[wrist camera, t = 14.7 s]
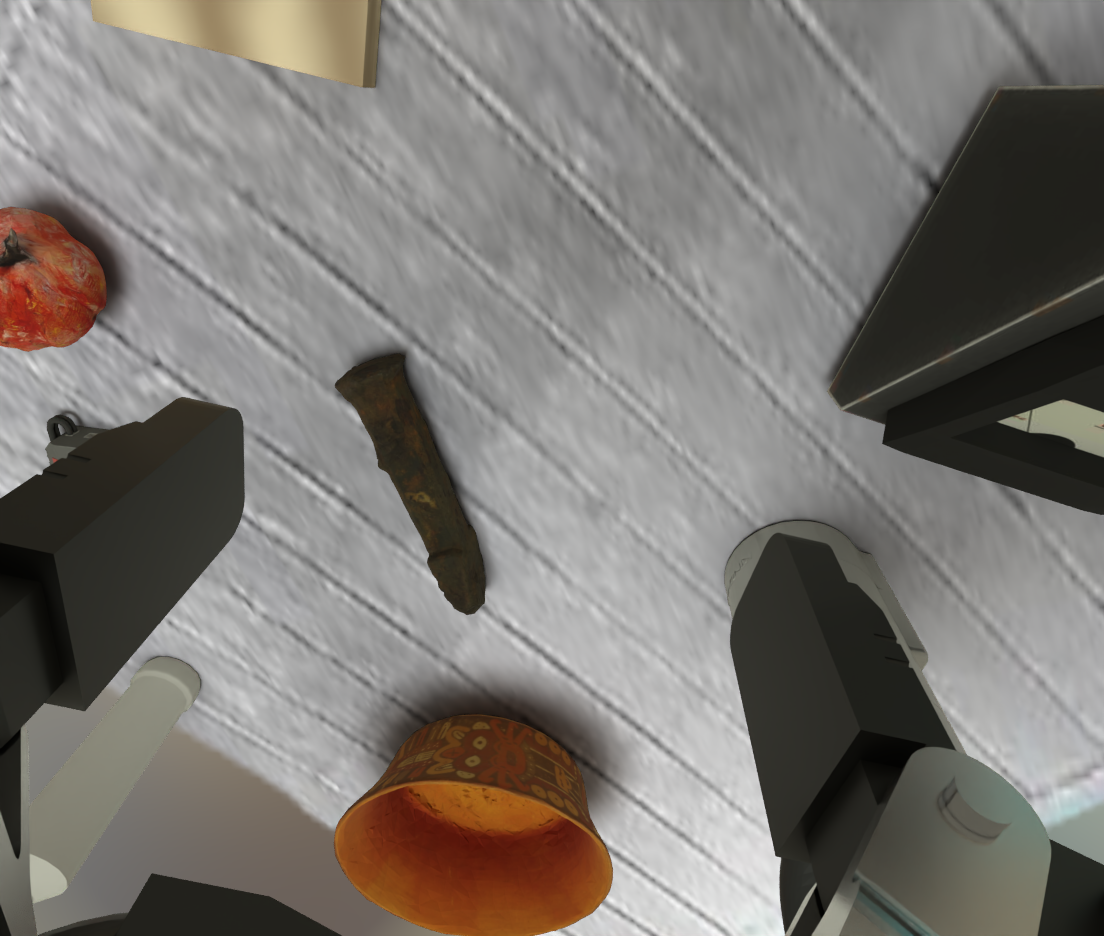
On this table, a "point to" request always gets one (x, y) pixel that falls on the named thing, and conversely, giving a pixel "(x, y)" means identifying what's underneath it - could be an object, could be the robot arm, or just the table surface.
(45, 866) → the bottle
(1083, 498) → the voltmeter
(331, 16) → the cream base with peg
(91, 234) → the table surface
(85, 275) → the pomegranate
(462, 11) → the table surface
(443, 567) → the hand tool
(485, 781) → the bowl
